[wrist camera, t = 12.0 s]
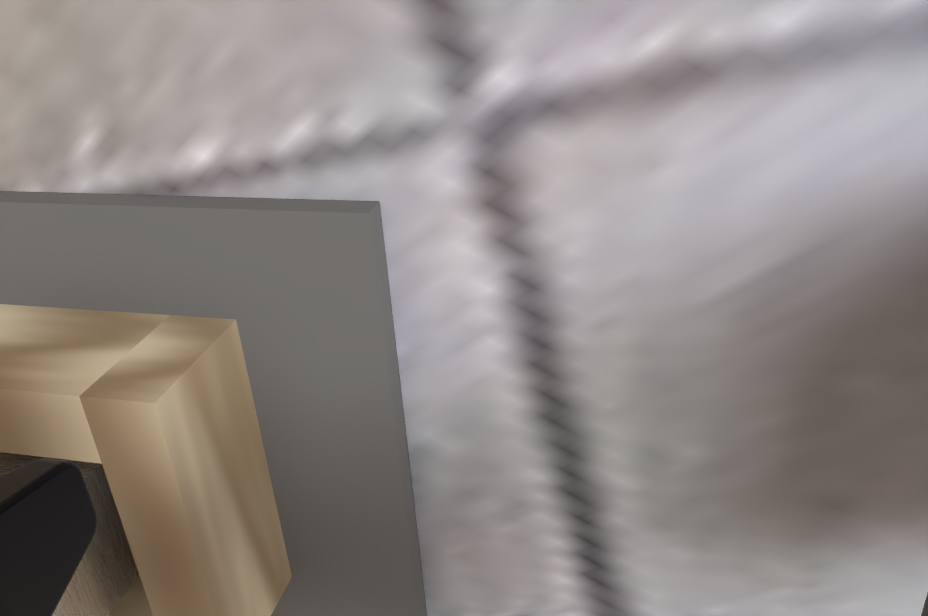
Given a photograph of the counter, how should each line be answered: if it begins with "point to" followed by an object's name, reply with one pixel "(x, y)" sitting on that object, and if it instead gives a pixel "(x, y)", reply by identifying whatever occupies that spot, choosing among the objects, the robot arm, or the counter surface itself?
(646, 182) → the counter surface
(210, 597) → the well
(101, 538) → the steel bar
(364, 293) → the mat
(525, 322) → the counter surface
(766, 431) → the counter surface
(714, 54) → the counter surface
